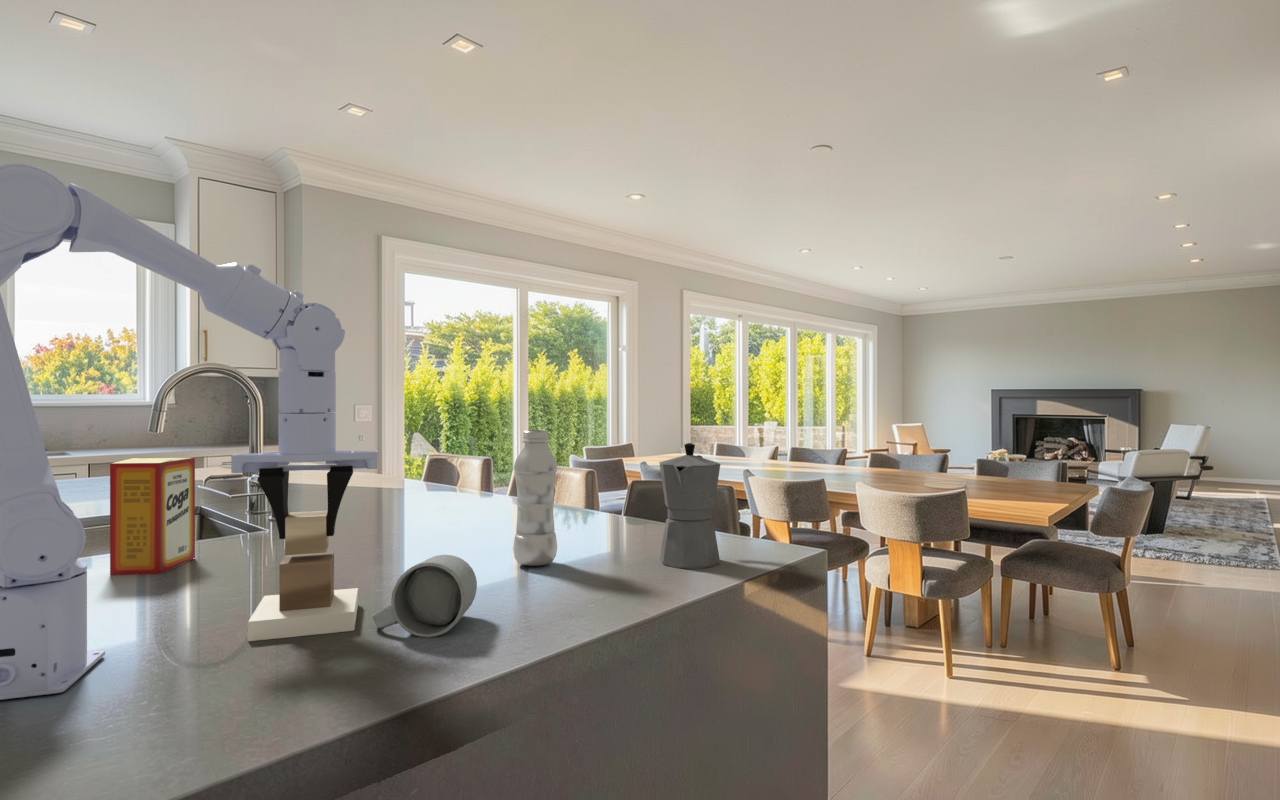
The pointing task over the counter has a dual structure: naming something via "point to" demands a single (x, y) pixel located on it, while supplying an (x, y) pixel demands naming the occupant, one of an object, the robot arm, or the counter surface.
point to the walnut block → (306, 581)
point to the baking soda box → (151, 514)
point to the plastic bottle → (535, 501)
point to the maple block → (306, 533)
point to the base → (303, 618)
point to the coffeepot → (689, 511)
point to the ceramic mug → (430, 596)
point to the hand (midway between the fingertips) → (307, 536)
